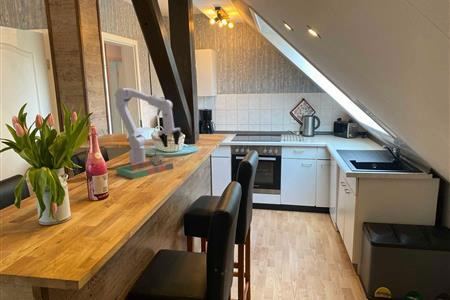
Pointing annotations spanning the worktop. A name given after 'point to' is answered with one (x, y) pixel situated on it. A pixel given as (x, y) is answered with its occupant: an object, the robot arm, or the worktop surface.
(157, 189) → the worktop surface
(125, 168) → the trap track
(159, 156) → the game die
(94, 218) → the worktop surface
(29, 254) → the worktop surface
